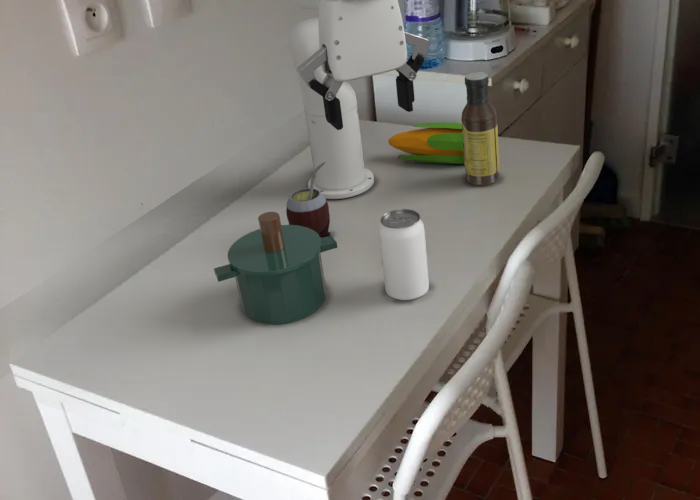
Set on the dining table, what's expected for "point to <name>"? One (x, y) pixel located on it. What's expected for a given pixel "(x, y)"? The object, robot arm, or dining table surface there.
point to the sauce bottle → (480, 132)
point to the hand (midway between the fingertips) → (371, 117)
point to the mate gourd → (309, 208)
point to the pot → (281, 290)
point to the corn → (432, 143)
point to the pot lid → (274, 248)
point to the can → (403, 254)
